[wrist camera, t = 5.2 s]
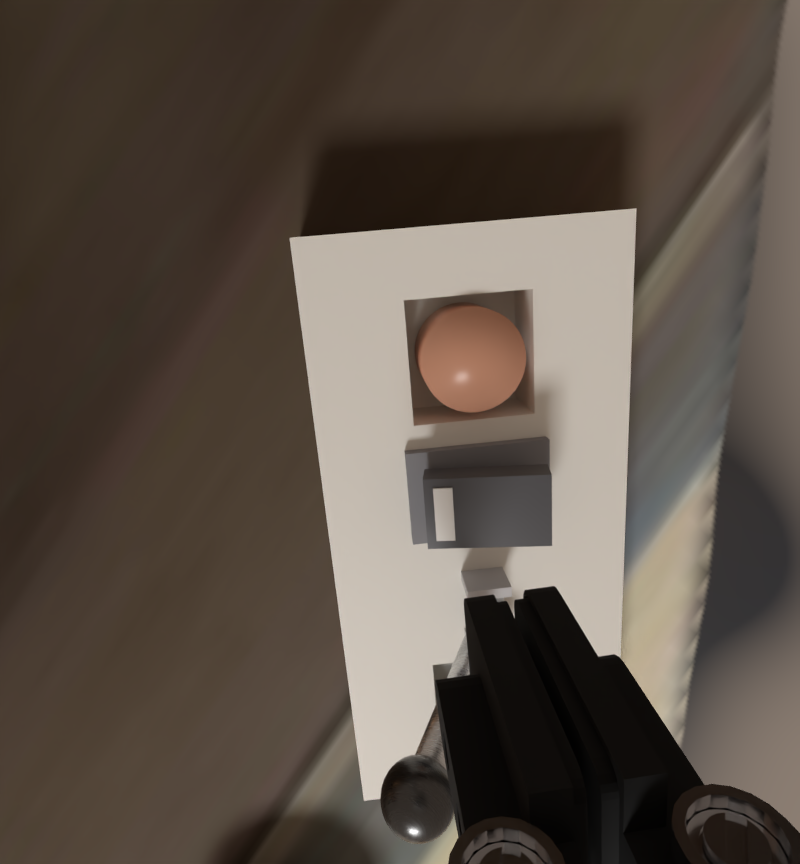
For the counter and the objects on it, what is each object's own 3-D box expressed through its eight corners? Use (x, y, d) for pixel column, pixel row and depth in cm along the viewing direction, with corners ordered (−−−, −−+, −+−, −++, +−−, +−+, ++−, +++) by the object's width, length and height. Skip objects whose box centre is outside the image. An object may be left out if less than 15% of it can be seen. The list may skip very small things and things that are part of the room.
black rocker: (424, 469, 25) (422, 480, 24) (547, 464, 24) (551, 475, 23) (429, 535, 26) (427, 549, 25) (548, 532, 25) (552, 546, 24)
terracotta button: (411, 306, 26) (418, 313, 23) (505, 297, 27) (525, 303, 24) (418, 399, 28) (425, 417, 25) (508, 391, 28) (527, 407, 25)
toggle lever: (465, 580, 28) (364, 791, 17) (515, 586, 27) (440, 812, 16) (468, 622, 29) (372, 850, 18) (516, 629, 28) (445, 873, 17)
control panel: (299, 240, 27) (284, 236, 21) (596, 215, 27) (658, 204, 22) (363, 741, 35) (364, 832, 29) (588, 713, 36) (631, 797, 30)
